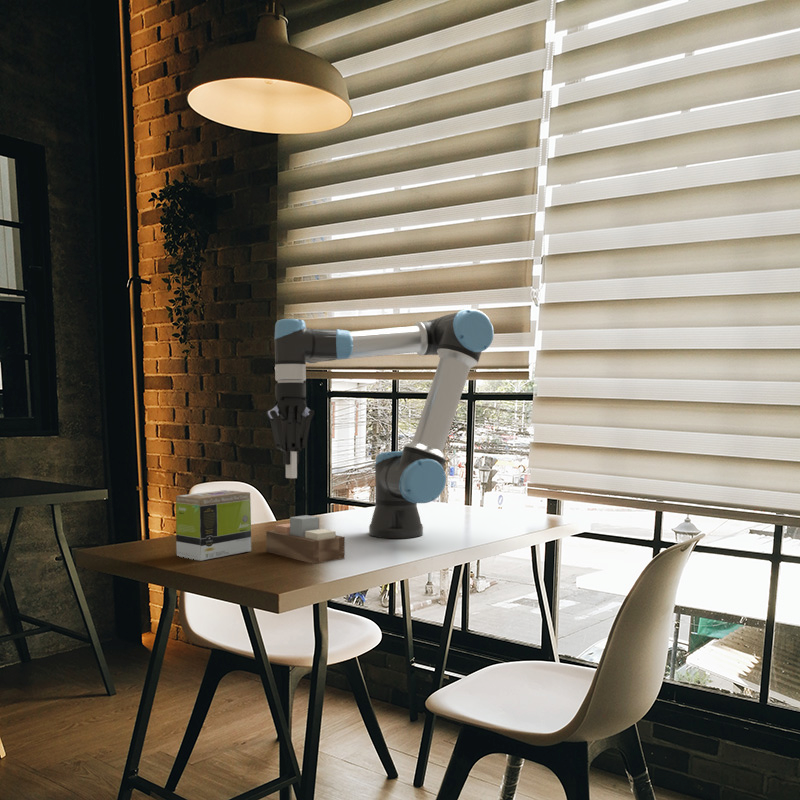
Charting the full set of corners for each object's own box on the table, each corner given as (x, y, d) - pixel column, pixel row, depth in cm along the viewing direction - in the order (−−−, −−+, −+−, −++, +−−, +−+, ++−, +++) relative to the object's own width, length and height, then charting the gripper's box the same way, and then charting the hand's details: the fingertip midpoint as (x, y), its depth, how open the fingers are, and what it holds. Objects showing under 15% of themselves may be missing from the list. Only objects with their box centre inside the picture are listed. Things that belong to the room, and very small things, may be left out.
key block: (296, 547, 183) (297, 527, 184) (344, 558, 169) (344, 537, 169) (266, 551, 177) (266, 531, 177) (313, 563, 163) (313, 541, 163)
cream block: (322, 552, 172) (322, 528, 172) (335, 555, 169) (335, 531, 169) (305, 555, 169) (305, 531, 169) (317, 558, 165) (318, 533, 165)
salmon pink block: (292, 545, 181) (292, 522, 182) (303, 548, 178) (304, 525, 178) (275, 547, 178) (275, 525, 178) (286, 550, 174) (286, 527, 175)
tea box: (226, 547, 183) (226, 488, 183) (252, 552, 177) (252, 491, 177) (174, 556, 172) (175, 493, 172) (200, 562, 165) (200, 497, 165)
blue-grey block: (307, 538, 177) (307, 515, 177) (319, 540, 173) (319, 517, 173) (289, 540, 174) (290, 517, 174) (301, 543, 170) (302, 519, 170)
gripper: (303, 383, 186) (304, 475, 186) (259, 382, 177) (260, 478, 177) (320, 382, 180) (321, 476, 180) (276, 381, 172) (277, 480, 171)
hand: (291, 477), depth 178 cm, fingers closed
